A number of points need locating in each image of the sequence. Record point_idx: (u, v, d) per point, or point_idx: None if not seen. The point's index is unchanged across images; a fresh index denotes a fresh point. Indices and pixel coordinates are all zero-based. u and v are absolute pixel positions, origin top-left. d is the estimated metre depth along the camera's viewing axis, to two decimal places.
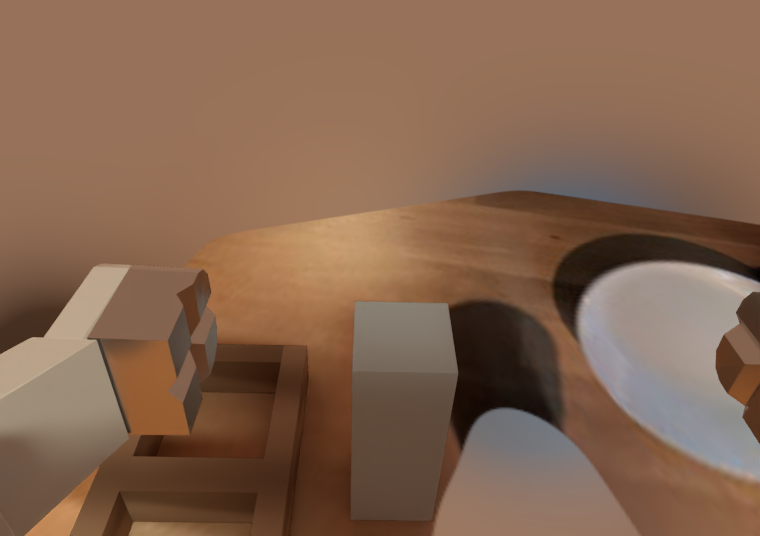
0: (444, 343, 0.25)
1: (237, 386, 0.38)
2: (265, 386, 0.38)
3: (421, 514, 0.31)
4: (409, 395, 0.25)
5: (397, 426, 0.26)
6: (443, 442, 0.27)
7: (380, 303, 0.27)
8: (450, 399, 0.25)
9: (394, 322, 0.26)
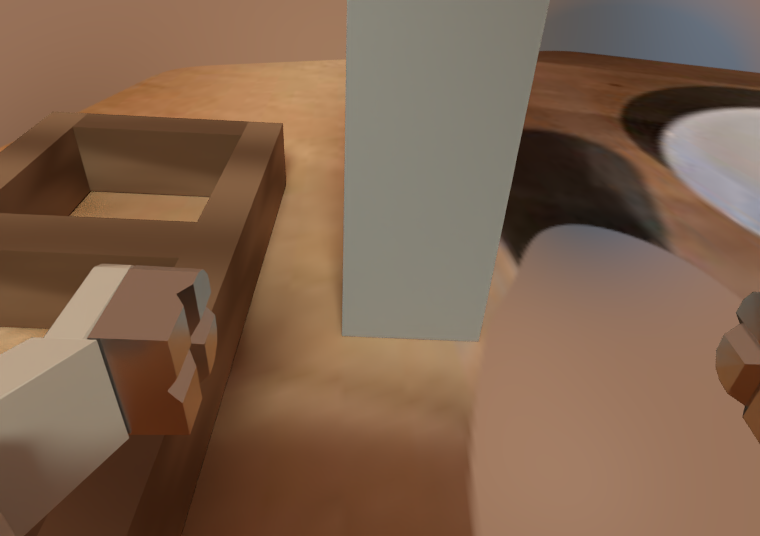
0: None
1: (178, 183, 0.25)
2: None
3: (461, 325, 0.18)
4: None
5: (434, 85, 0.14)
6: (516, 135, 0.14)
7: None
8: (542, 2, 0.13)
9: None
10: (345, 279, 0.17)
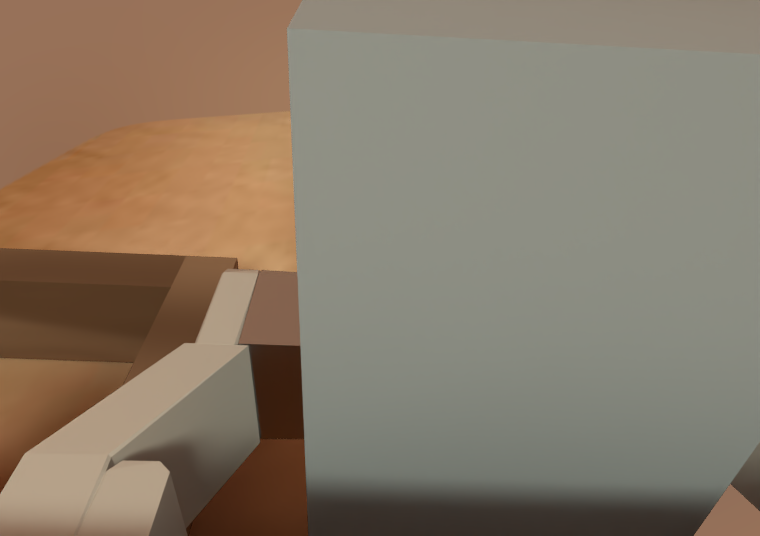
0: None
1: (83, 347, 0.17)
2: None
3: None
4: (633, 253, 0.04)
5: (522, 434, 0.06)
6: (702, 509, 0.06)
7: None
8: None
9: None
10: None
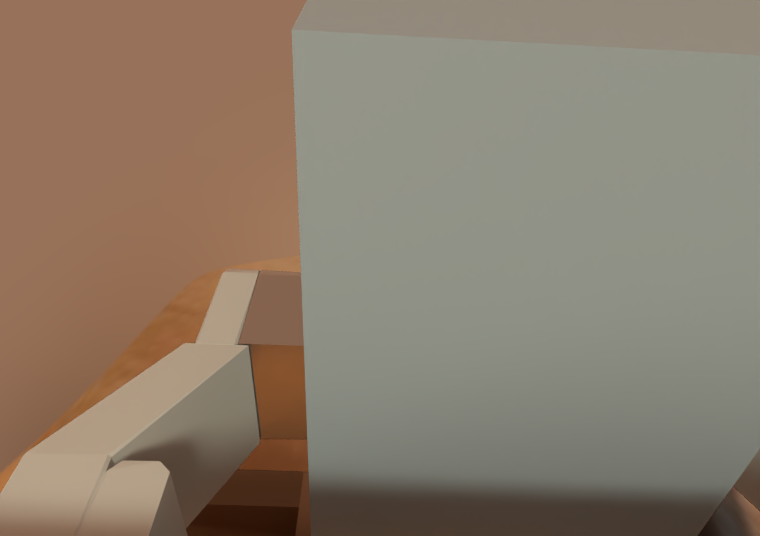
0: None
1: None
2: None
3: None
4: (637, 256, 0.04)
5: (526, 436, 0.06)
6: (705, 511, 0.06)
7: None
8: None
9: None
10: None
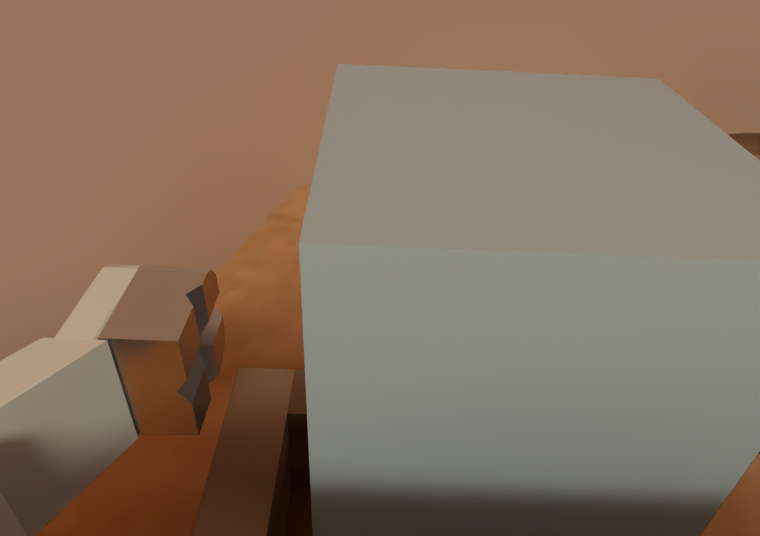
0: (725, 164, 0.06)
1: None
2: None
3: None
4: (585, 390, 0.05)
5: (501, 519, 0.06)
6: None
7: (427, 70, 0.08)
8: None
9: (488, 107, 0.07)
10: None
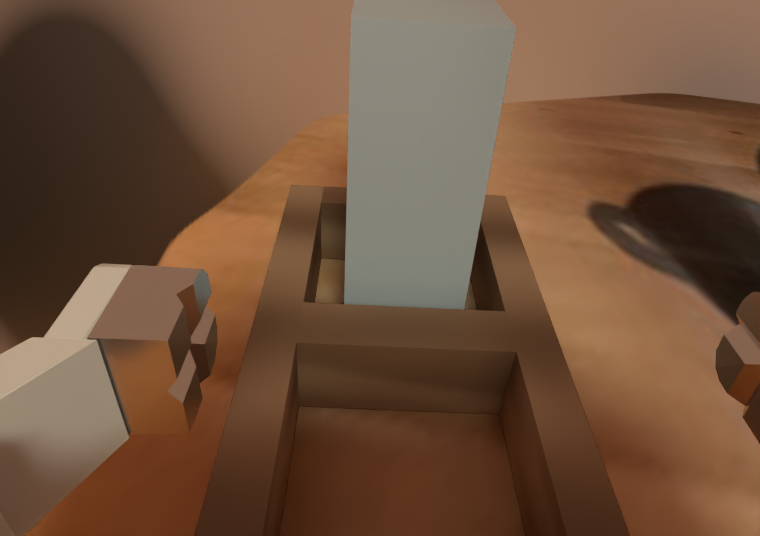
0: (491, 12, 0.17)
1: None
2: None
3: None
4: (438, 78, 0.16)
5: (417, 148, 0.17)
6: (483, 186, 0.18)
7: None
8: (500, 89, 0.16)
9: None
10: (346, 297, 0.21)
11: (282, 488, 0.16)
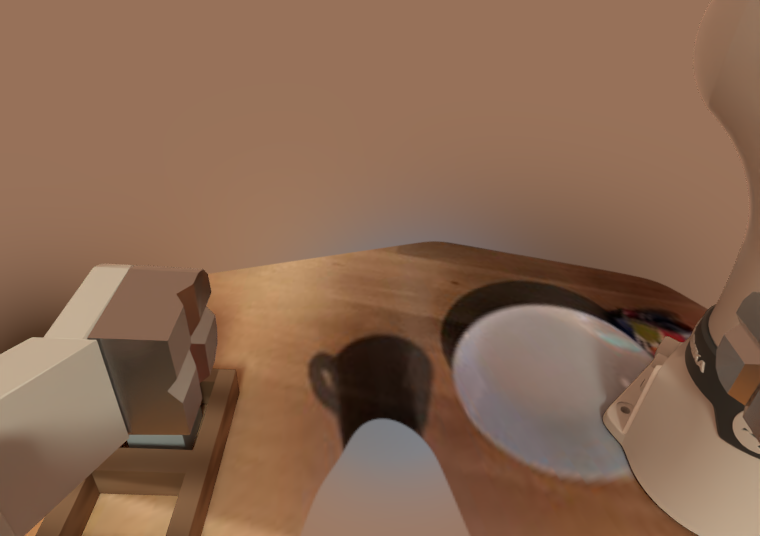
0: None
1: None
2: (204, 399, 0.51)
3: None
4: None
5: None
6: None
7: None
8: None
9: None
10: None
11: (75, 534, 0.40)
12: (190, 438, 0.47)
